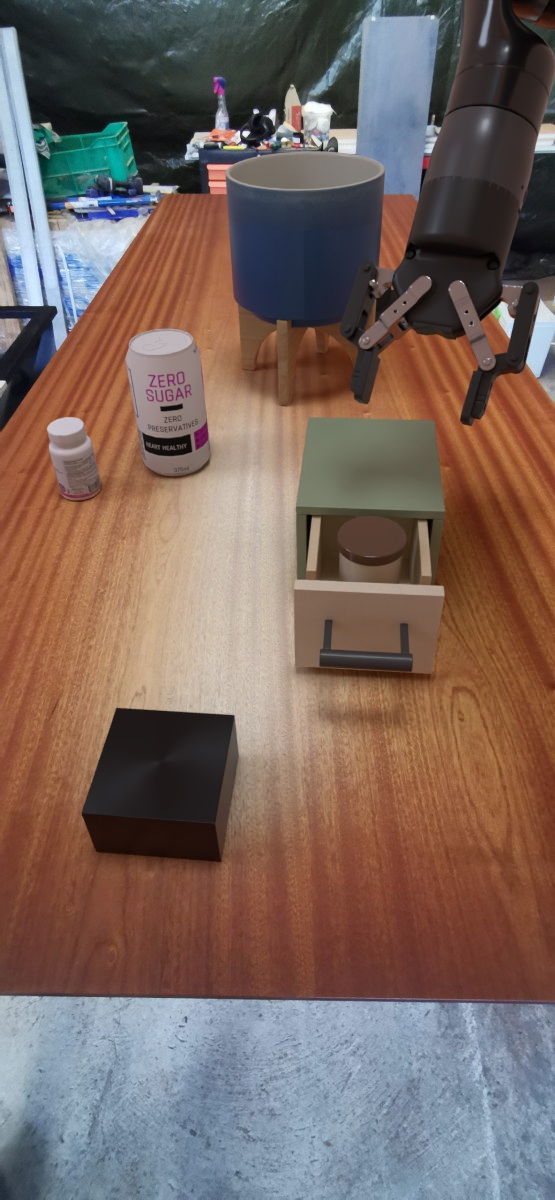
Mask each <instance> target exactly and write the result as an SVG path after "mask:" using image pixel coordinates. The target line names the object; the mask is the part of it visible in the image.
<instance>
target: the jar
mask: <svg viewBox="0 0 555 1200" xmlns="http://www.w3.org/2000/svg"><path fill="white" fill-rule="evenodd" d="M337 546H338V549H339V573H338V581H342V582H365V583H387V584H399V579H400V570H401V561H402V555H403V553H404V551H405V547H406V533H405V531H404V529H403V528H402V527H401V526H400V525H399V524H397V523H396V522H394V521H392V520H390V519H387V518H384V517H379V516H361V517H356V518H353V519H351V520H349V521H347V522H345V523H344V524H343V525H342V526H341V527H340V529H339V531H338V535H337Z"/></svg>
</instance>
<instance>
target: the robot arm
mask: <svg viewBox="0 0 555 1200" xmlns="http://www.w3.org/2000/svg"><path fill="white" fill-rule="evenodd" d="M524 22H526V23H528V24H532V25H534V26H537V27H539V28H543V29H546V30H550V31H555V0H460V35H459V36H460V38H459V51H458V59H457V66H456V69H455V75H454V78H453V82H452V86H451V89H450V94H449V97H448V100H447V105H446V109H445V112H444V116H443V120H442V124H441V127H440V129H439V131H438V135H437V137H436V139H435V142H434V144H433V147H432V149H431V153H430V156H429V159H428V162H427V166H426V170H425V175H424V178H423V182H422V186H421V190H420V194H419V197H418V201H417V205H416V209H415V212H414V217H413V220H412V224H411V227H410V230H409V235H408V239H407V242H406V245H405V251H404V256H403V259H402V260H401V262H400V263H399V265H398V266H397V267H396V268H395V269H391V268H386V267H381V266H379V267H377V266H375V265H374V263H373V262H372V261H371V260H364V261H363V262H362V263H361V264H360V266H359V269H358V272H357V276H356V279H355V282H354V285H353V288H352V291H351V295H350V298H349V301H348V304H347V307H346V310H345V314H344V317H343V320H342V323H341V326H340V333H341V335H342V336H343V337H344V338H345V339H346V340H347V341H348V342H349V343H350V344H352V345H354V346H356V347H357V349H358V354H357V358H356V362H355V366H353V370H352V374H351V377H350V382H349V389H350V390H349V391H350V392H352V393H353V399H354V400H355V401H356V402H357V403H358V404H363V405H369V403H370V401H371V397H372V393H373V390H374V386H375V382H376V378H377V375H378V371H379V368H380V363H381V358H380V357H379V355H380V354H381V353H383V352H384V351H385V350H386V349H387V348H388V347H389V346H391V345H392V344H393V343H394V342H395V341H398V340H400V339H402V338H403V337H404V336H405V335H406V334H407V333H408V332H410V331H411V330H412V331H414V332H415V333H416V334H417V335H421V336H434V335H436V336H440V337H442V338H444V339H446V340H453V341H456V340H457V339H459V338H462V337H464V336H466V337H467V339H468V343H469V344H470V346H471V349H472V351H473V354H474V356H475V358H476V361H477V363H478V365H477V369H476V370H474V369H473V371H472V374H471V378H470V381H469V384H468V388H467V392H466V394H465V395H466V396H465V399H464V403H463V405H462V409H461V412H460V417H459V422H460V423H461V425H464V426H469V427H473V424H474V422H475V420H479V421H480V420H481V419H482V418H483V416H485V413H486V411H487V406H488V404H489V400H490V396H491V394H492V389H493V386H494V383H495V381H496V380H497V378H499V377H500V376H503V375H509V374H513V375H519V374H521V373H522V372H524V370H525V368H526V364H527V360H528V356H529V351H530V347H531V343H532V338H533V334H534V329H535V325H536V321H537V318H538V317H537V316H538V313H539V308H540V304H541V294H540V288H539V285H538V283H537V282H536V281H527V282H525V283H524V284H523V285H511V284H503V275H504V270H505V267H506V263H507V260H508V256H509V254H510V249H511V246H512V243H513V242H512V241H513V239H514V235H515V232H516V228H517V225H518V222H519V219H520V215H521V210H522V207H523V206H524V204H525V203H526V202H525V201H526V199H527V196H528V192H529V191H528V186H529V184H530V183H529V182H530V179H531V175H532V172H533V165H534V158H535V153H536V152H535V151H536V146H537V142H538V138H539V134H540V131H541V128H542V124H543V120H544V117H545V114H546V110H547V106H548V104H549V103H548V102H549V100H550V97H551V93H552V89H553V85H554V82H555V53H554V51H553V49H552V47H551V46H550V45H549V44H548V43H547V41H546V40H545V39H543V37H541V36H540V35H539V34H538V33H536V32H535V31H534V30H532V29H531V28H530V27H529V26H527V25H526V24H525V23H524ZM390 286H391V287H392V290H394V292H395V294H396V297H397V300H396V301H395V302H394V303H393V304H392V305H391V306H390V307H389V308H387V309H386V310H385V311H384V312H383V313H382V314H381V315H380V317H379V320H378V321H377V322H375V324H374V325H373V326H372V327H370V328H369V329H368V330H367V331H366V332H365V329H366V326H367V323H368V320H369V317H370V314H371V311H372V308H373V304H374V301H375V298H378V297H380V296H382V295H383V293H384V291H385V290H386V289H387V288H388V287H390ZM502 302H503V303H505V304H506V306H507V308H506V309H507V312H508V316H509V317H510V318H511V319H514V320H513V324H512V328H511V332H510V337H509V340H508V341H509V342H508V346H507V350H506V352H500V353H496V354H494V351H493V349H492V347H491V343H490V341H489V339H488V338H487V334H486V332H485V330H484V327H483V325H482V321H483V320H485V318H486V317H488V316H489V315H490V314H491V313H492V312H493V311H494V310H495V309H496V308H498V307H499V306H500V304H502Z"/></svg>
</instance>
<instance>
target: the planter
mask: <svg viewBox="0 0 555 1200" xmlns="http://www.w3.org/2000/svg"><path fill="white" fill-rule="evenodd" d="M385 175H386V168H385V166H384V165H383V164H382V163H381V162H379V161H378V160H376V159H374V158H371V157H368V156H364V155H359V154H353V153H346V152H338V151H319V150H317V151H313V150H312V151H289V152H278V153H271V154H270V153H269V154H263V155H259V156H254V157H250V158H246V159H243V160H240V161H238V162H236V163H233V164H232V165H230V166H228V167H227V168H226V171H225V188H226V203H227V219H228V235H229V249H230V264H231V278H232V295H233V298H234V301H235V303H237V311H238V312H237V313H238V327H239V328H238V329H239V342H240V345H239V346H240V360H241V369H242V370H249V371H254V370H256V368H257V367H258V357H259V352H260V349H261V347H262V345H263V342H265V340H266V338H268V337H269V336H270V335H271V334H273V333H274V332H276V345H277V347H276V349H277V375H278V377H277V380H278V405H279V406H285V407H289V406H290V404H291V403H292V401H293V399H294V398H293V397H294V394H293V393H294V380H295V371H296V366H297V361H298V356H299V351H300V347H301V344H302V342H303V338H304V336H305V334H306V332H307V330H308V329H309V328H310V329H314V335H315V341H316V342H315V343H316V353H317V354H326V353H327V352H328V350H329V348H330V347H329V345H330V337H331V338H333V339H334V340H335V341H336V342H338V344H340V345H341V347H342V348H343V349H344V350H345V351H346V353H347V355H348V357H349V358H350V360H351V363H352V366H353V367H354V366H355V362H356V358H357V354H358V349H357V347H356V346H354V345H352V344H350V343H349V342H348V341H347V340H346V339H345V338H344V337H343V336H342V335H341V333H340V326H341V323H342V320H343V317H344V314H345V310H346V307H347V304H348V301H349V298H350V295H351V291H352V288H353V285H354V282H355V279H356V276H357V272H358V269H359V266H360V264H361V263H362V262H363V261H364V260H371V261H372V262H373V263H374V265H375V266H377V267H380V256H381V242H382V224H383V212H384V211H383V209H384V195H385V194H384V193H385V177H386V176H385ZM375 312H376V299H375V301H374V304H373V308H372V311H371V314H370V317H369V320H368V323H367V326H366V329H365V332H366V331H367V330H368V329H369V328H370V327H372V326H373V325H374V324H375V323H376V322H375Z"/></svg>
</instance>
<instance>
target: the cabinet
mask: <svg viewBox="0 0 555 1200" xmlns="http://www.w3.org/2000/svg"><path fill="white" fill-rule="evenodd" d="M303 445H304V446H303V453H302V459H301V460H302V461H301V468H300V474H299V480H298V481H299V483H298V488H297V496H296V502H295V503H296V504H295V532H296V534H295V537H296V538H295V539H296V541H295V543H296V545H295V546H296V548H295V549H296V579H297V580H306V568H307V559H308V550H309V541H310V532H311V522H312V515H337V516H379V517H392V518H419V519H427V525H428V537H429V549H430V561H431V572H432V578H431V585H432V586H435V581H436V575H437V568H438V562H439V557H440V556H439V555H440V549H441V542H442V536H443V530H444V524H445V516H446V506H445V504H446V503H445V497H444V488H443V479H442V472H441V470H442V469H441V462H440V453H439V446H438V435H437V428H436V420H434V419H405V418H404V419H401V418H400V419H397V418H364V417H363V418H362V417H361V418H359V417H358V418H357V417H323V416H321V417H318V416H316V417H315V416H308V417H307V424H306V432H305V440H304V444H303Z"/></svg>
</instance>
